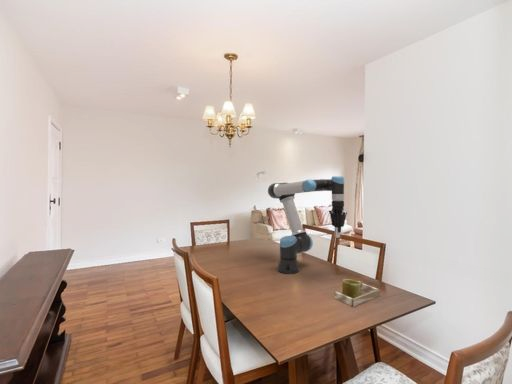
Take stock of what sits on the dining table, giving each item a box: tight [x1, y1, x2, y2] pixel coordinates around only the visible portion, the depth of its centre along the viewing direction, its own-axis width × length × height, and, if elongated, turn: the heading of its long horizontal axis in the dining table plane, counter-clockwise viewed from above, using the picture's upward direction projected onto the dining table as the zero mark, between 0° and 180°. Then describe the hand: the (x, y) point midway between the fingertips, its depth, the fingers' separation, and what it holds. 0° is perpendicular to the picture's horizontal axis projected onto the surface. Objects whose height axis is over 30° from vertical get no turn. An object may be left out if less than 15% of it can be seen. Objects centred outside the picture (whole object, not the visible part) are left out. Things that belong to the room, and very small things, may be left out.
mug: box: [341, 278, 363, 298], centre depth 151 cm, size 12×10×10 cm
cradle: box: [333, 282, 381, 308], centre depth 150 cm, size 12×22×4 cm, turn 123°
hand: (337, 237), depth 177 cm, fingers closed
